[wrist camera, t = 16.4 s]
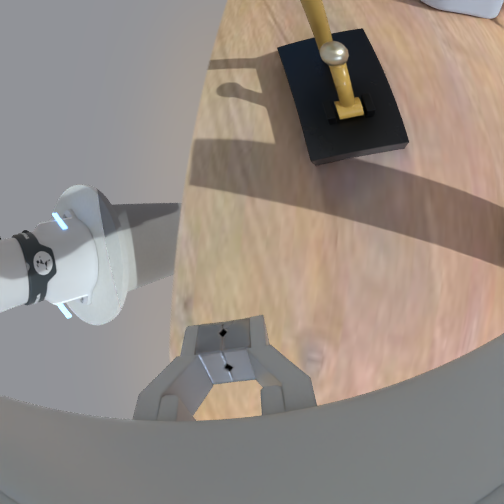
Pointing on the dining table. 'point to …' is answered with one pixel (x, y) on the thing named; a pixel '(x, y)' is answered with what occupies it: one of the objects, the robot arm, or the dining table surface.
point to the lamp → (325, 94)
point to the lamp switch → (341, 79)
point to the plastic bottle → (468, 6)
